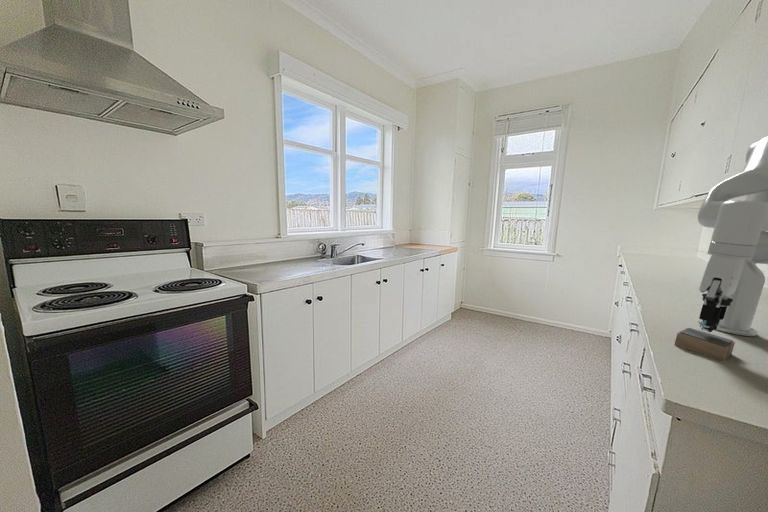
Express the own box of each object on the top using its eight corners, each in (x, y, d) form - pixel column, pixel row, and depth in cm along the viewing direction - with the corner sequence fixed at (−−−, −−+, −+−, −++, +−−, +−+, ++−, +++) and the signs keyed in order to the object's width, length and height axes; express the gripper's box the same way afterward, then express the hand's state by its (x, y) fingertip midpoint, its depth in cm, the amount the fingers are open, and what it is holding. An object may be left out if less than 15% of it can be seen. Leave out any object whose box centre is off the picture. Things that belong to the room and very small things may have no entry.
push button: (719, 336, 73) (730, 298, 71) (689, 328, 78) (699, 292, 76) (725, 331, 77) (736, 294, 75) (696, 323, 81) (706, 288, 79)
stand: (684, 339, 84) (687, 326, 84) (731, 354, 77) (735, 340, 76) (674, 344, 80) (677, 331, 80) (722, 361, 73) (727, 346, 72)
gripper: (718, 247, 81) (701, 309, 84) (698, 249, 72) (680, 318, 76) (761, 252, 75) (740, 319, 78) (745, 255, 66) (723, 330, 70)
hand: (711, 318), depth 77 cm, fingers closed on push button, 4 cm apart
